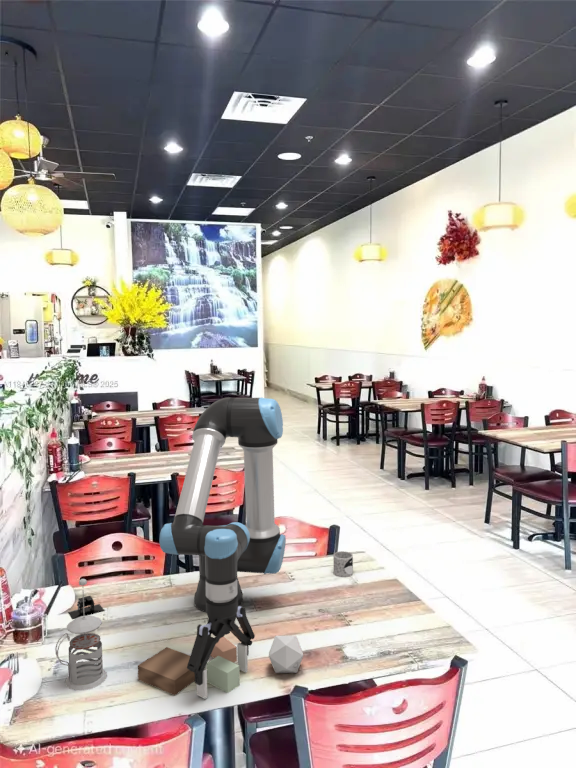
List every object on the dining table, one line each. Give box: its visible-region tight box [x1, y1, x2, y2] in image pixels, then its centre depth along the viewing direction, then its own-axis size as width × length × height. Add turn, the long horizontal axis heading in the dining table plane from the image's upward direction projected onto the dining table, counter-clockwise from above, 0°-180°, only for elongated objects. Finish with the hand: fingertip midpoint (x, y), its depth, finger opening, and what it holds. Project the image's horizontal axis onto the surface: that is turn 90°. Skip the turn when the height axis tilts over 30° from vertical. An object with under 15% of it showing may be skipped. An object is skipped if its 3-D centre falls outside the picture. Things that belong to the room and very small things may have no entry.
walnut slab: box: [137, 646, 201, 696], centre depth 145 cm, size 12×10×4 cm
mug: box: [333, 551, 354, 578], centre depth 209 cm, size 10×7×7 cm, turn 149°
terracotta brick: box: [210, 636, 237, 663], centre depth 154 cm, size 7×4×4 cm, turn 36°
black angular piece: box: [67, 595, 106, 620], centre depth 180 cm, size 12×7×5 cm, turn 124°
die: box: [268, 635, 304, 674], centre depth 148 cm, size 8×9×10 cm
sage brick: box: [206, 656, 241, 694], centre depth 143 cm, size 7×4×5 cm, turn 51°
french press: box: [54, 578, 108, 691], centre depth 144 cm, size 10×12×25 cm
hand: (223, 682), depth 143 cm, fingers open, 13 cm apart
